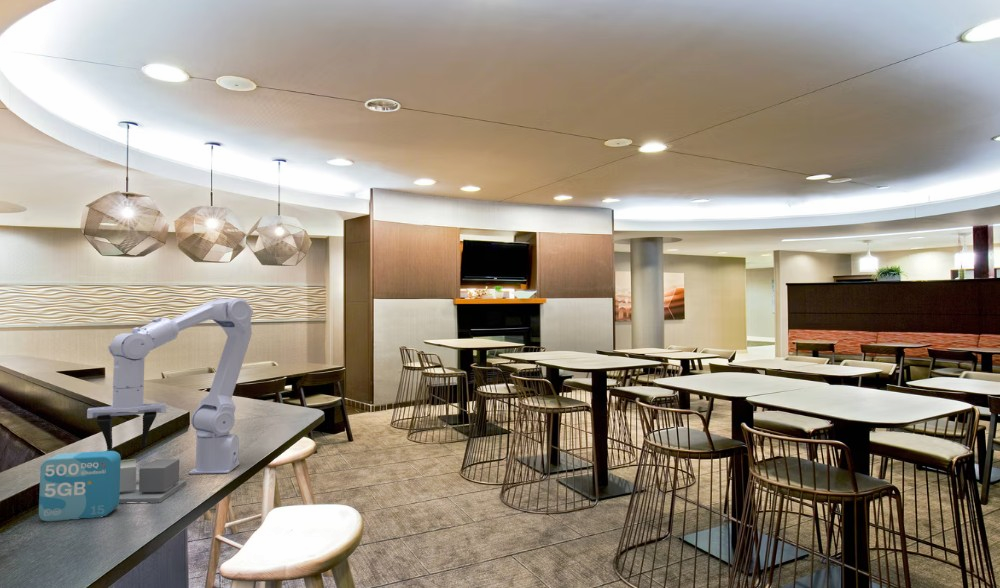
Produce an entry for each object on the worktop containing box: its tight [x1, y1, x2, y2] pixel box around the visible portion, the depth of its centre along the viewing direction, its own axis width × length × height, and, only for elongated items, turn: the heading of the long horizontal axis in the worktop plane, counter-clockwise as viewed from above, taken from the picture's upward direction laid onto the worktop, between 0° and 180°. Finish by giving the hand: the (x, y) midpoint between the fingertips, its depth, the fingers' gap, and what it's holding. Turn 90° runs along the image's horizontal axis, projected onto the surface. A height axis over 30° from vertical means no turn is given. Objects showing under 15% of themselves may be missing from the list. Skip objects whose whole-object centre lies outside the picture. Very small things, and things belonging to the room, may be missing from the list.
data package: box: [38, 450, 122, 522], centre depth 108 cm, size 12×4×12 cm, turn 105°
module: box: [120, 458, 137, 492], centre depth 120 cm, size 4×7×5 cm, turn 34°
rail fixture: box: [119, 458, 187, 504], centre depth 120 cm, size 20×12×7 cm, turn 97°
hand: (126, 447), depth 122 cm, fingers open, 6 cm apart
